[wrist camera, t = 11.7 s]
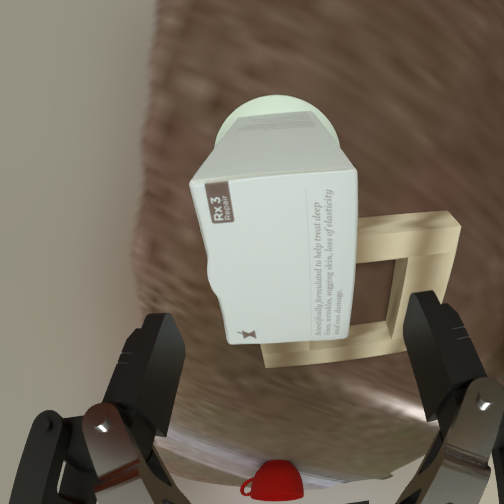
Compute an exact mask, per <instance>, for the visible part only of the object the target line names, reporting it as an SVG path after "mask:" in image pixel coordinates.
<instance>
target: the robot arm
mask: <svg viewBox="0 0 504 504" xmlns="http://www.w3.org/2000/svg"><path fill="white" fill-rule="evenodd" d="M403 339H404V343H405V346H406V349H407V352H408V355H409V358H410V362H411V365H412V368H413V372H414V375H415V378H416V382H417V385H418V389H419V393H420V396H421V400H422V404H423V408H424V412H425V416H426V420H427V422H430V421H434V420H438V423H439V428H438V430H437V432H436V435H435V437H434V439H433V441H432V443H431V445H430V447H429V449H428V451H427V453H426V455H425V457H424V459H423V461H422V463H421V465H420V467H419V469H418V471H417V472H416V474H415V476H414V477H413V479H412V480H411V482H410V483H409V484H408V485H407V487H406V488H405V490H404V491H403V493H402V494H401V496H400V497H399V499H398V500H397V502H396V503H395V504H479V502H480V499H481V497H482V495H483V492H484V490H485V488H486V485H487V483H488V480H489V477H490V473H491V468H490V467H489V466H488V460H489V457H490V454H491V452H492V457H493V463H494V468H495V475H496V481H497V489H498V497H499V504H504V388H503V387H502V386H501V385H500V384H499V383H498V382H497V381H496V380H494V379H492V378H488V377H487V375H486V373H485V371H484V368H483V366H482V364H481V361H480V359H479V357H478V354H477V352H476V350H475V348H474V346H473V343H472V341H471V339H470V338H469V335H468V333H467V331H466V329H465V328H464V324H463V322H462V320H461V318H460V316H459V315H458V313H457V312H456V311H455V310H454V309H453V308H452V307H451V306H450V305H448V304H447V303H446V304H440V302H439V300H438V298H437V296H436V294H435V292H434V291H433V290H428V291H421V292H414V293H411V294H410V297H409V301H408V306H407V310H406V314H405V319H404V323H403ZM184 359H185V344H184V341H183V339H182V337H181V334H180V332H179V330H178V328H177V326H176V324H175V321H174V319H173V317H172V315H171V314H170V313H153V314H148V315H147V316H146V318H145V320H144V323H143V325H142V328H137V329H135V331H134V332H133V333H132V334H131V335H130V336H129V338H127V340H126V342H125V345H124V347H123V350H122V354H121V355H120V357H119V360H118V364H117V365H116V367H115V370H114V372H113V375H112V378H111V380H110V383H109V385H108V388H107V391H106V393H105V396H104V398H103V401H102V402H101V403H98V404H95V405H93V406H91V407H90V408H89V409H88V410H87V411H86V413H85V414H84V415H83V416H77V417H71V418H62V417H61V416H60V415H59V414H58V413H57V412H55V411H53V410H46V411H44V412H42V413H40V414H39V415H38V416H37V417H36V418H35V420H34V422H33V424H32V427H31V430H30V433H29V435H28V438H27V441H26V444H25V448H24V451H23V454H22V457H21V460H20V464H19V467H18V470H17V474H16V477H15V481H14V485H13V489H12V493H11V497H10V501H9V504H96V502H97V501H98V503H99V504H191V503H190V502H189V500H188V499H187V498H186V497H185V496H184V494H183V493H182V492H181V491H180V490H179V489H178V487H177V486H176V484H175V483H174V481H173V479H172V478H171V476H170V474H169V472H168V470H167V469H166V467H165V465H164V463H163V461H162V459H161V457H160V456H159V454H158V452H157V450H156V448H155V446H154V445H153V442H154V438H155V436H161V437H166V436H167V431H168V427H169V422H170V418H171V414H172V409H173V405H174V401H175V397H176V392H177V388H178V384H179V380H180V376H181V372H182V368H183V364H184ZM63 461H65V462H66V465H65V469H64V473H63V477H62V481H61V485H60V490H59V493H57V485H58V480H59V476H60V472H61V468H62V464H63ZM348 504H369V501H362V502H355V503H348Z"/></svg>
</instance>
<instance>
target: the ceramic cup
mask: <svg viewBox="0 0 504 504" xmlns="http://www.w3.org/2000/svg"><path fill="white" fill-rule="evenodd" d="M252 481H253V482H252ZM250 482H252V487H251V492H249V493H247V494H245V493H244V488H245V486H246V485H247V484H248V483H250ZM240 492H241V494H242V495H244V496H250V497H251V498H252V499H255V500H262V501H290V500H296V499H299V498H302V497H303V496H304V491H303V483H302V479H301V476H300V474H299V472H298V470H297V469H296V468H295V467H294V466H293V465H292V464H291V463H290V462H289V461H284V460H273V461H268V462H265V464H264V465H263V466H261V467H260V469H259V470H258V471H257V472H256V474H255V476H254V477H253V478H251V479H249V480H247V481H245V482H244V483H243V484H242V486H241V488H240Z"/></svg>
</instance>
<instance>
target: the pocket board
mask: <svg viewBox="0 0 504 504" xmlns="http://www.w3.org/2000/svg"><path fill="white" fill-rule="evenodd" d="M460 230H461V225H460V224H459V223H458V222H457V221H456V220H455V219H454V217H453V216H452V215H451V214H450V213H449V212H448V211H434V212H421V213H409V214H397V215H386V216H375V217H364V218H358V226H357V250H356V263H365V262H373V261H382V260H391V259H396V260H395V267H394V274H393V281H392V287H391V293H390V299H389V305H388V310H387V316H386V321H380V322H373V323H366V324H358V325H351V326H349V332H348V337H347V338H344V339H336V340H323V341H299V342H283V343H266V344H260V345H261V350H262V354H263V359H264V363H265V368H271V367H285V366H297V365H308V364H318V363H327V362H336V361H344V360H351V359H359V358H365V357H372V356H378V355H385V354H391V353H396V352H402V351H407V349H406V346H405V343H404V339H403V323H404V319H405V314H406V310H407V306H408V301H409V297H410V294H411V293H414V292H421V291H428V290H433V291H434V292H435V294H436V296H437V298H438V300H439V302H440V304H442V300H443V297H444V294H445V290H446V287H447V284H448V280H449V276H450V273H451V269H452V265H453V261H454V257H455V253H456V248H457V244H458V239H459V235H460Z"/></svg>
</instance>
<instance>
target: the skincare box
mask: <svg viewBox="0 0 504 504" xmlns="http://www.w3.org/2000/svg"><path fill="white" fill-rule="evenodd" d="M189 186H190V190H191V194H192V198H193V202H194V206H195V210H196V214H197V217H198V221H199V225H200V229H201V233H202V237H203V241H204V245H205V249H206V253H207V258H208V266H207V274H208V280H209V283H210V285H211V288H212V290H213V291H214V293H215V294H216V295H217V297H218V300H219V304H220V308H221V312H222V315H223V320H224V326H225V333H226V339H227V342H228V343H229V344H231V345H232V344H266V343H283V342H299V341H323V340H336V339H344V338H347V337H348V332H349V324H350V317H351V309H352V300H353V291H354V281H355V268H356V250H357V226H358V179H357V170H356V169H355V168H354V166H353V165H352V164H351V162H350V161H349V160H348V158H347V157H346V155H345V154H344V153H343V151H342V150H341V149H340V147H339V146H338V145H337V144H336V142H335V141H334V139H333V138H332V136H331V135H330V133H329V132H328V131H327V129H326V128H325V127H324V125H323V124H322V123H321V121H320V120H319V119H318V118H317V116H316V115H315V114H314V113H313V111H296V112H284V113H272V114H262V115H253V116H244V117H238V118H237V120H236V121H235V122H234V123H233V125H232V126H231V127H230V128H229V130H228V131H227V132H226V134H225V135H224V136H223V138H222V139H221V140H220V141H219V143H218V144H217V146H216V147H215V148H214V150H213V151H212V152H211V154H210V155H209V156H208V158H207V159H206V160H205V162H204V163H203V164H202V166H201V167H200V169H199V170H198V171H197V173H196V174H195V175H194V177H193V178H192V180H191V181H190V183H189Z"/></svg>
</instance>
